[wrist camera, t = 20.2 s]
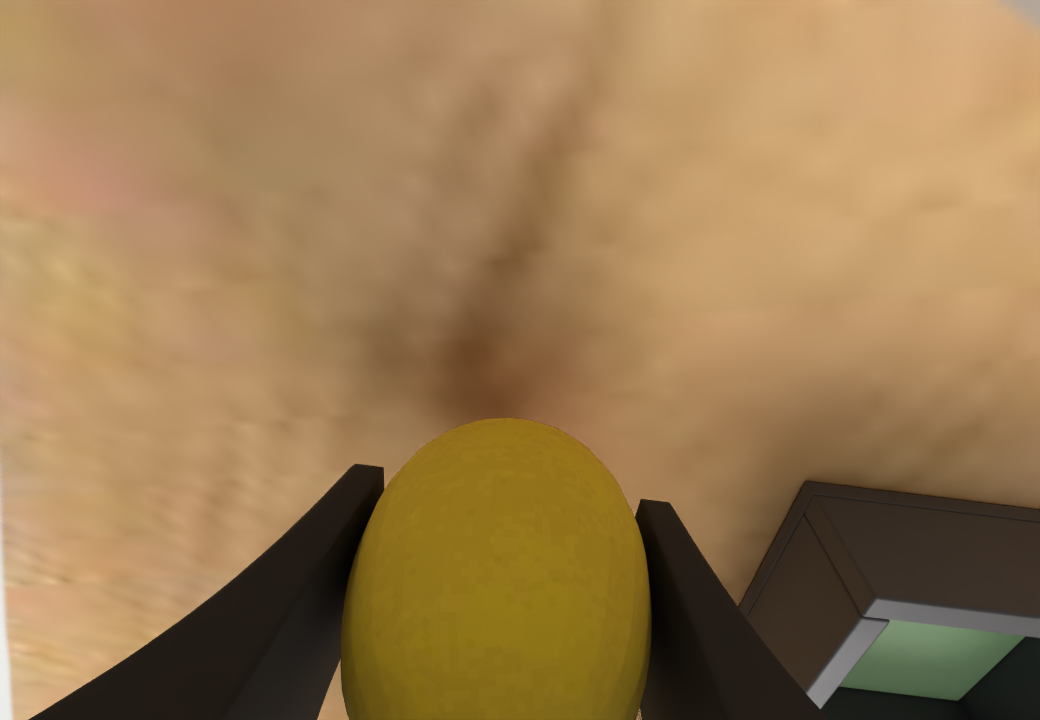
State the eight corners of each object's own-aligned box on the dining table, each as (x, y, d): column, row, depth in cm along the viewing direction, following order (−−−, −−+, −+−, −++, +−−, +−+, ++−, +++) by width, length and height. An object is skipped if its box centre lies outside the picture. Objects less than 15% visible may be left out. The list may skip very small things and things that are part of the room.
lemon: (610, 336, 12) (695, 743, 5) (631, 511, 14) (705, 936, 7) (380, 369, 12) (157, 758, 5) (441, 529, 15) (344, 926, 8)
